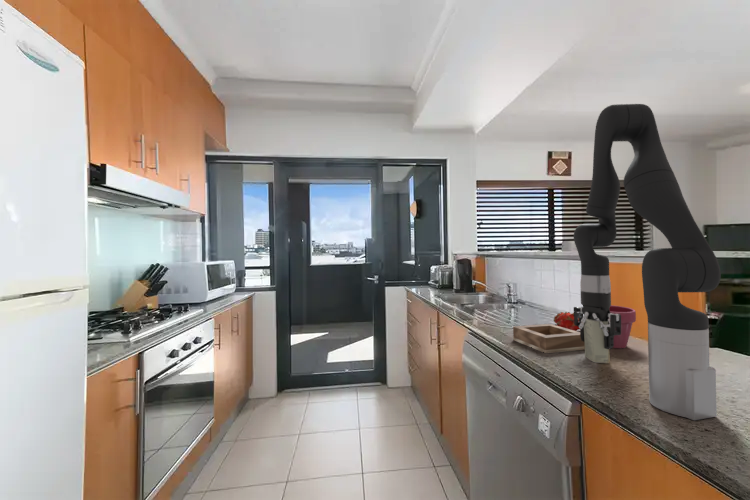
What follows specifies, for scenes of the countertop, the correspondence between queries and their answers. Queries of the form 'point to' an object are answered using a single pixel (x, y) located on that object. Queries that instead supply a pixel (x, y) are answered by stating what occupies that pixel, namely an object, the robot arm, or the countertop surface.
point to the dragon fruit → (566, 321)
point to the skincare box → (595, 342)
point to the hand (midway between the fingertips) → (596, 344)
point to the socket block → (548, 338)
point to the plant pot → (623, 324)
